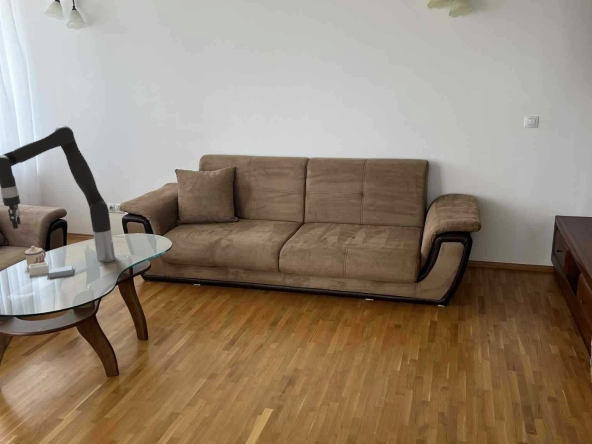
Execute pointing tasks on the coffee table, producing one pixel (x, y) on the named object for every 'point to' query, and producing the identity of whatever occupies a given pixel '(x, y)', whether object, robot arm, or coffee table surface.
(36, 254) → the teacup with lid
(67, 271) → the lid
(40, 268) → the white open cubby box
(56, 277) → the mat
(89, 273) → the coffee table surface
